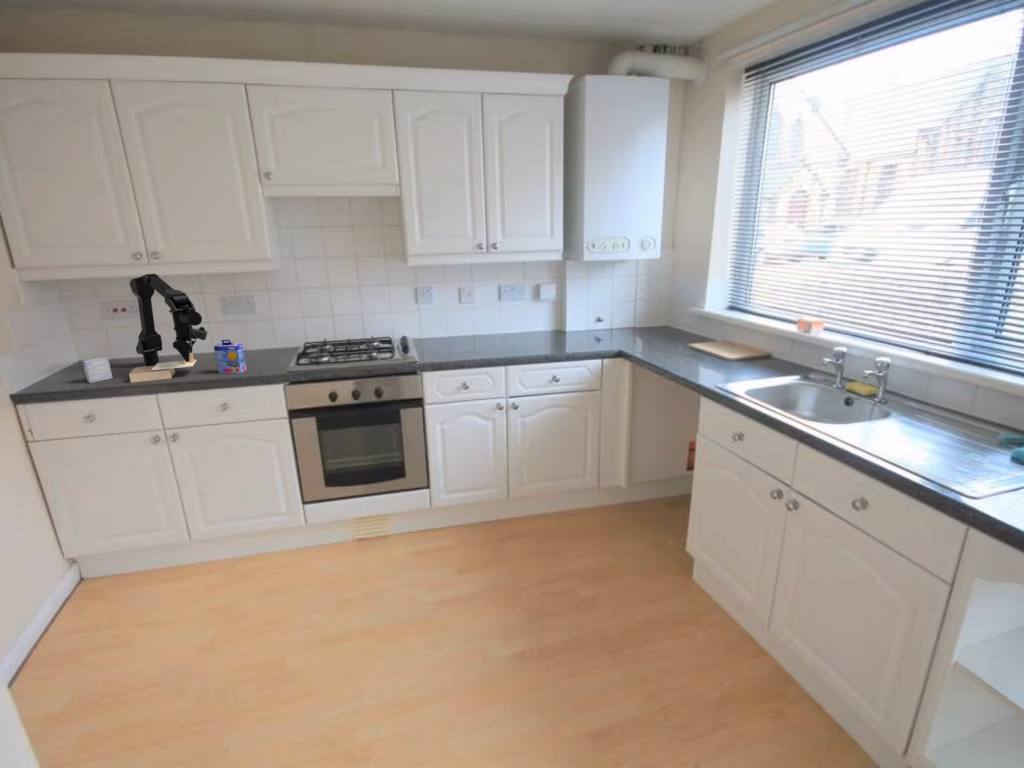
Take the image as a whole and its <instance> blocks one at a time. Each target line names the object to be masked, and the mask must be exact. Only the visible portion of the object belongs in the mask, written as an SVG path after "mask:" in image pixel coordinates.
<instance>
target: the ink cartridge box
mask: <svg viewBox="0 0 1024 768" xmlns="http://www.w3.org/2000/svg"><path fill="white" fill-rule="evenodd" d="M213 350H214V354H215V355H214V356H215V361H216V365H217V371H218V374H242V373H244V372H245V371H247V365H246V360H245V359H246V358H245V353H244V347H243V343H242V342H232V341H231V339H221V342H220V343H218V344H215V345H214V346H213Z"/></svg>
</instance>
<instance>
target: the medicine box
mask: <svg viewBox="0 0 1024 768" xmlns="http://www.w3.org/2000/svg"><path fill="white" fill-rule="evenodd" d="M81 362H82V366H83V370H84V373H85V377H86V381H87V382H88V383H90V384H91V383H92V384H93V383H96V382H102V381H108V380H113V373H112V369H111V365H110V361H109V359H108V358H106V357H99V358H93V359H88V360H82V361H81Z"/></svg>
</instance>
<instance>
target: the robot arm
mask: <svg viewBox="0 0 1024 768" xmlns="http://www.w3.org/2000/svg"><path fill="white" fill-rule="evenodd" d="M156 274H157V273H146V274H143V275H141V276H139V277H134V278H131V280H130V281H129V287H130V289H131V293H132V294H133V295H134V296H135V297H136V298H137V303H138V312H139V319H140V326H141V327H140V328H141V330H140V333H139V335H138V337H137V339H138V342H137V345H136V347H135V351H136V354H137V355H138V354H139V355H142V358H143V362H144V364H143V365H142V367H145V366H155V365H156V364H157V363H163V361H160V358H159V352H161V351H163V341H162V335H161V334H160V333H158V332H157V331H156V327H155V319H154V313H153V304H152V297H153V296H154V294H155V291H156V292H157V293H158V294H159V295H160V296H162V297H163V298H164V303H165V305H167V307H168V308H170V309H169V310H168V311H169V313H170V314H171V315H172V321H173V325H174V326H173V331H174V332H175V340H174V341H173V342H172V347H173V349H176V351H177V352H178V353H179V354H180V356H181V357H182V358H183V359H185V360H184V361H186V362H189V353H193V346H194V344H196V342H197V340H198V339H199V340H201V341H205V340H206V339H207V336H208V331H207V330H206V329H205V326H204V327H203V326H199V328H195V327H197V326H198V325H200V324H201V323H202V321H203V318H202V314H200V313H199V311H196V307H195V305H194V303H193V301H191V299H190V297H189V296H188V295H187V294H186V293H185V292H184V291H182V290H179V289H174V288H173V287H172V286H171V285H169V284H168V283H167V282H165V281H164V280H163V279H162V278H161V277H160V276H159V274H158V275H156ZM193 326H195V327H194V328H193Z"/></svg>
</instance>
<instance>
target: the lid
mask: <svg viewBox="0 0 1024 768" xmlns="http://www.w3.org/2000/svg"><path fill="white" fill-rule="evenodd" d="M183 359H184V358H183ZM196 362H197V359H194V355H193V352H192V353H189V362H186V361H185V359H184V360H177V361H176V360H175V361H166V362H165V361H164V362H163V361H162V363H157V364H156V365H155V366H154V367H153V368H152V370H161V369H172V368H174V369H178V368H179V369H180V368H190V367H194V365H195V363H196Z"/></svg>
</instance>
